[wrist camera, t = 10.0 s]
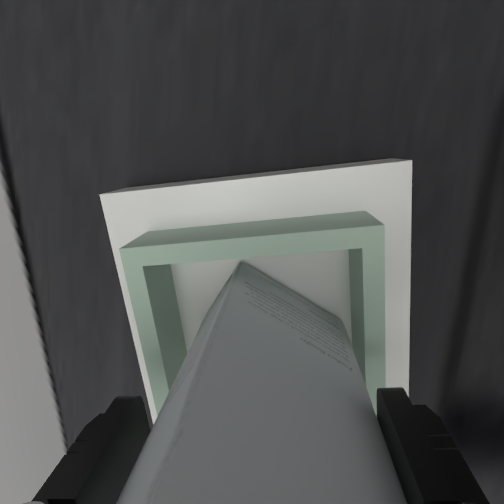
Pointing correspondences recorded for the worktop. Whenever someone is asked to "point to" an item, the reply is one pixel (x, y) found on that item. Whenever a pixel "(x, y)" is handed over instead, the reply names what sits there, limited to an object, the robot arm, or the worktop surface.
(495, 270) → the worktop surface
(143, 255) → the green piece
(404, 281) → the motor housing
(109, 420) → the robot arm
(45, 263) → the worktop surface
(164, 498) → the skincare box
